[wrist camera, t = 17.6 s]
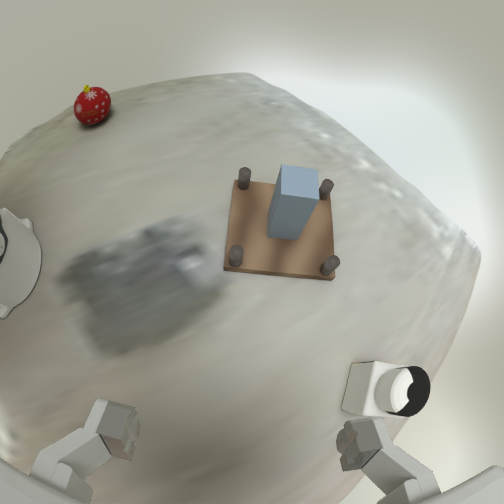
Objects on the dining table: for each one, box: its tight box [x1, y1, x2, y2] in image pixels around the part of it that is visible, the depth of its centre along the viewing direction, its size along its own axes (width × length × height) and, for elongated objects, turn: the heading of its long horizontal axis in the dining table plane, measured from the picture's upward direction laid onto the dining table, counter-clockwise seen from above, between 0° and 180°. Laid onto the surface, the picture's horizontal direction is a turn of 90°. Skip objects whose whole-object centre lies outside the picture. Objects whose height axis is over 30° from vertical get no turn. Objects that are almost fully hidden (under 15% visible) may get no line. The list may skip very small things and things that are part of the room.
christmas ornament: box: [74, 85, 111, 125], centre depth 46 cm, size 9×9×10 cm
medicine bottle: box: [341, 361, 430, 418], centre depth 30 cm, size 7×7×12 cm
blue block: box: [267, 164, 319, 240], centre depth 37 cm, size 4×4×11 cm
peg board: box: [224, 167, 340, 281], centre depth 41 cm, size 16×15×5 cm
